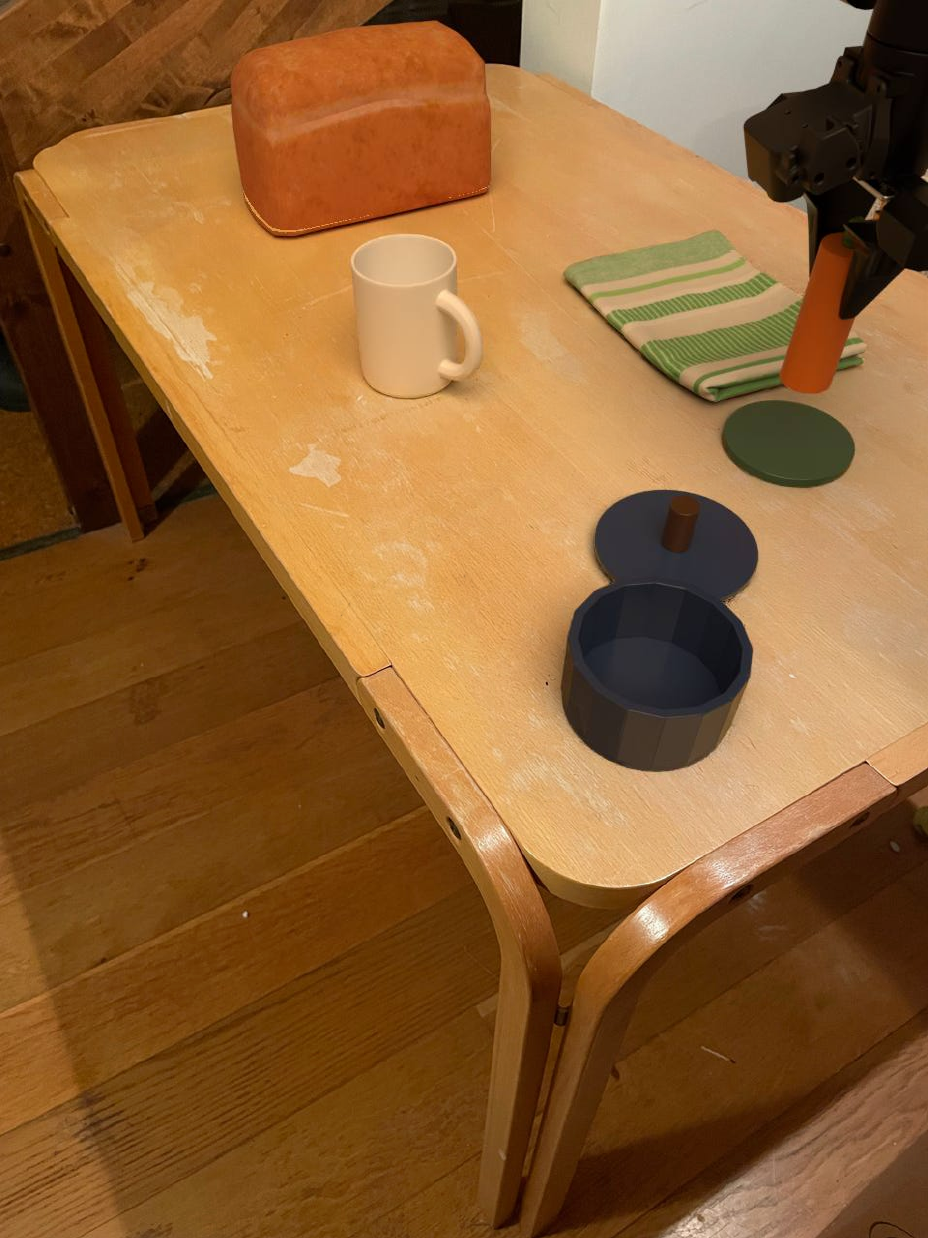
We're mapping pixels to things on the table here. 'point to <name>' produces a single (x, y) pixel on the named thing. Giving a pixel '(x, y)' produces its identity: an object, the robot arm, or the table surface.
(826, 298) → the carrot
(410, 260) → the mug
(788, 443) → the saucer
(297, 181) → the bread
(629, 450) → the table surface
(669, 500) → the lid
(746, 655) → the pot
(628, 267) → the dish towel
